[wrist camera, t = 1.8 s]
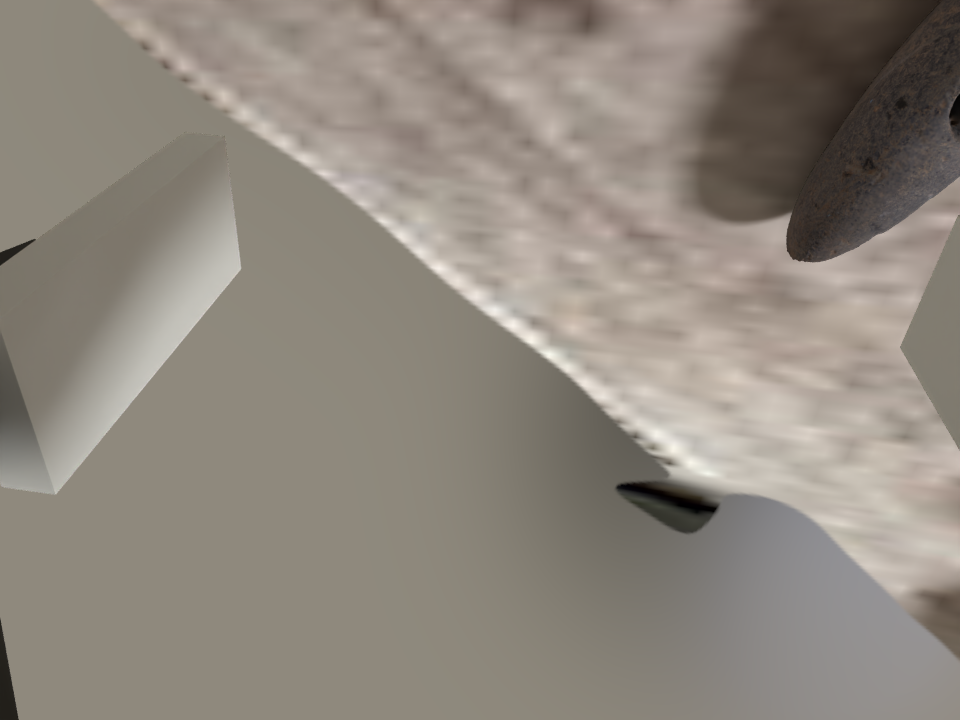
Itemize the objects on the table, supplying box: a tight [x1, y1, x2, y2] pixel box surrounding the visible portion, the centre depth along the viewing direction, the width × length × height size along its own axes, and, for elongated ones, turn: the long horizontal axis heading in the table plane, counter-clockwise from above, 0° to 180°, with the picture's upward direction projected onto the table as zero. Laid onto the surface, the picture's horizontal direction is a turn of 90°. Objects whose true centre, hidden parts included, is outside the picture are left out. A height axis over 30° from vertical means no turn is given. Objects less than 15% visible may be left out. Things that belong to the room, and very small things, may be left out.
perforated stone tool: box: [786, 0, 960, 262], centre depth 36 cm, size 15×5×7 cm, turn 150°
